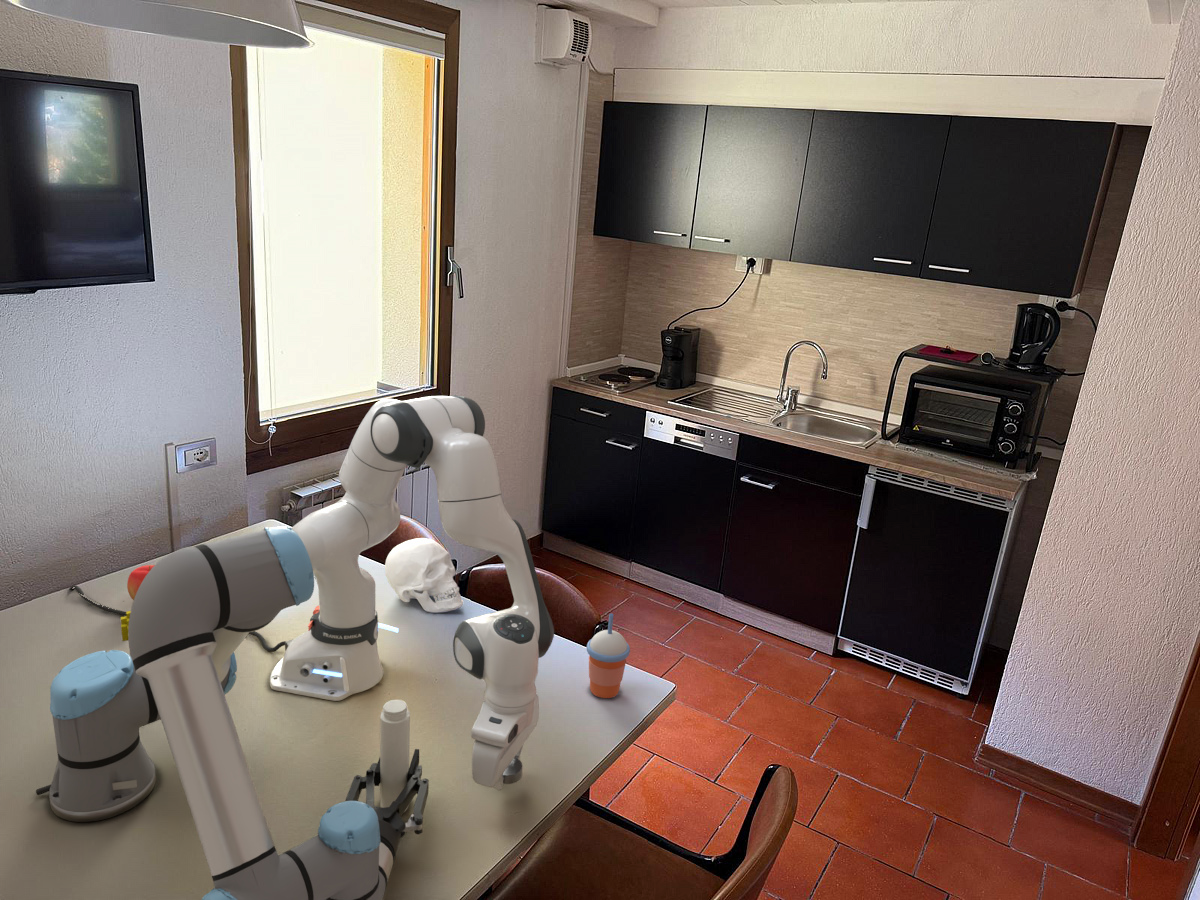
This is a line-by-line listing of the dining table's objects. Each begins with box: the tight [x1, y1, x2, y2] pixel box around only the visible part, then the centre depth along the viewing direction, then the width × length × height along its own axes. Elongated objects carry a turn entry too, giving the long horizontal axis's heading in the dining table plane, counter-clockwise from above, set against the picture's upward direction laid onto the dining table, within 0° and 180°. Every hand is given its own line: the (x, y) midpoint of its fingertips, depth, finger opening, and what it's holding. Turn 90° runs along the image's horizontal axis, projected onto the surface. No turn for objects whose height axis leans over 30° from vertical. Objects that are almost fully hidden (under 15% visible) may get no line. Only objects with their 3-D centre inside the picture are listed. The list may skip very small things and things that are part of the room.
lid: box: [502, 757, 523, 785], centre depth 150 cm, size 5×5×2 cm
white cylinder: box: [379, 699, 411, 813], centre depth 141 cm, size 5×5×20 cm
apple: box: [126, 564, 156, 601], centre depth 199 cm, size 10×10×10 cm
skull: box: [384, 537, 465, 614], centre depth 211 cm, size 13×22×16 cm, turn 67°
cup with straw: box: [586, 613, 631, 699], centre depth 179 cm, size 9×9×18 cm
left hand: (401, 755), depth 147 cm, fingers closed on white cylinder, 5 cm apart
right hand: (506, 775), depth 150 cm, fingers closed on lid, 5 cm apart
